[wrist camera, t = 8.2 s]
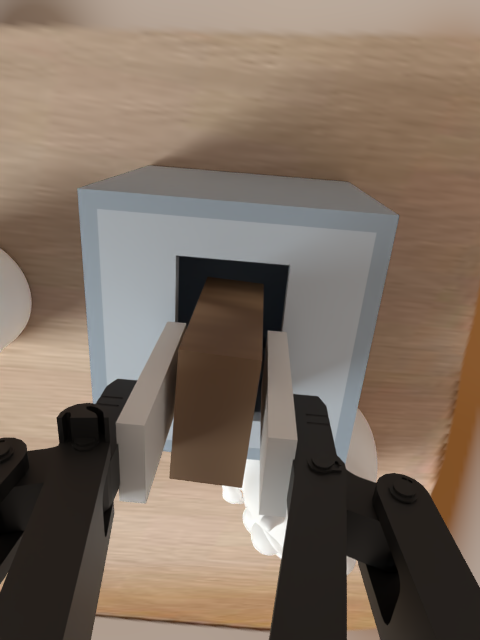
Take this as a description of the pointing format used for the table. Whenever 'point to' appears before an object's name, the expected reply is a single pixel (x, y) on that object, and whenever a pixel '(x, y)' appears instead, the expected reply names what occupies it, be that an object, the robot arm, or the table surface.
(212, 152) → the table surface
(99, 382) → the coin box
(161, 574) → the table surface
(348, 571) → the figurine
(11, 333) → the cup
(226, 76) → the table surface
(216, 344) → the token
